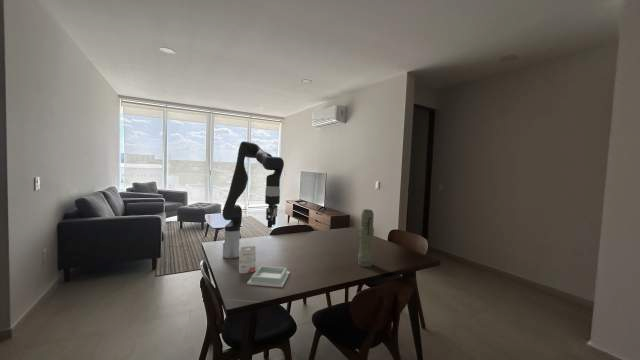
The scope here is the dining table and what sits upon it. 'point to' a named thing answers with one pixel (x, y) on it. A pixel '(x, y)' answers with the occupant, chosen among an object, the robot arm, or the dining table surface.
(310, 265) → the dining table surface
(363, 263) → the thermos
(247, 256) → the ink cartridge box
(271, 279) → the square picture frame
